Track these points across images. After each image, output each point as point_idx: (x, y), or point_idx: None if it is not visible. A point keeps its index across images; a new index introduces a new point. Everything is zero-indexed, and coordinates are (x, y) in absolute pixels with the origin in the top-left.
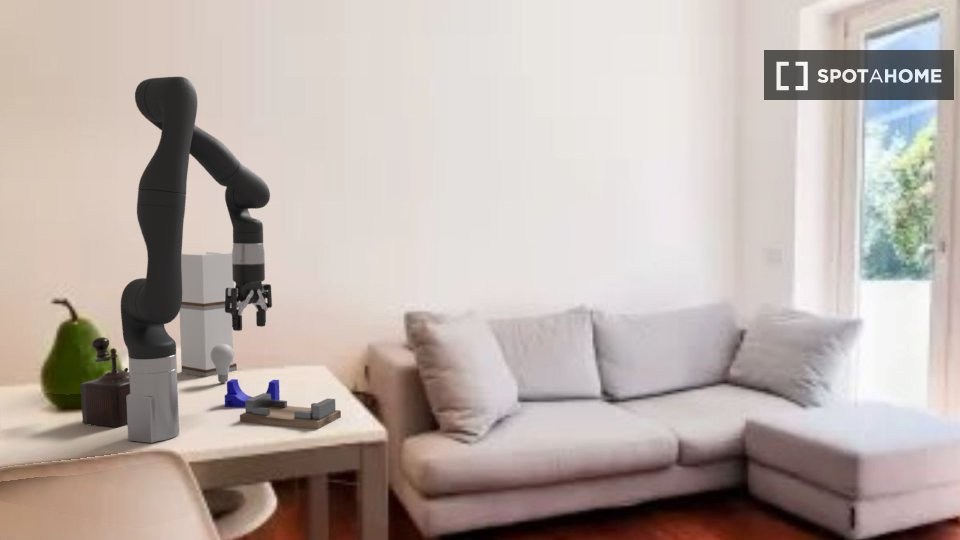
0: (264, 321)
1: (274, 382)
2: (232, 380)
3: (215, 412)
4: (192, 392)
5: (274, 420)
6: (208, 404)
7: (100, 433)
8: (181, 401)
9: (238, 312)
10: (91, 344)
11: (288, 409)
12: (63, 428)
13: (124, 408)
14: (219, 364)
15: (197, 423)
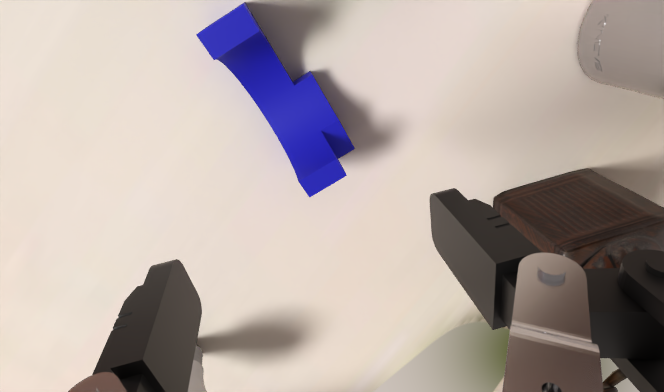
0: (154, 283)
1: (243, 5)
2: (321, 179)
3: (401, 104)
4: (297, 317)
5: None
6: (353, 193)
7: (624, 156)
8: (367, 263)
9: (580, 266)
10: None
11: None
12: None
13: (595, 191)
14: (202, 386)
15: (504, 42)
